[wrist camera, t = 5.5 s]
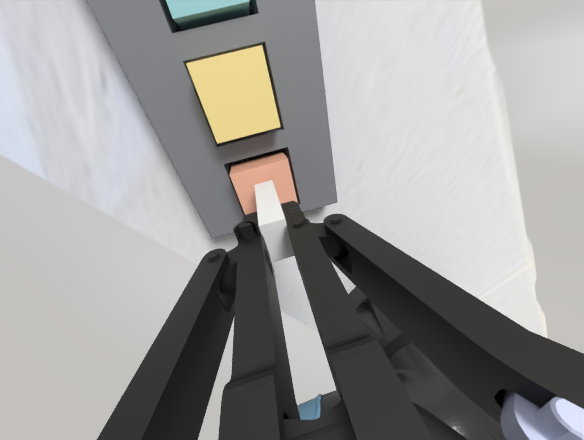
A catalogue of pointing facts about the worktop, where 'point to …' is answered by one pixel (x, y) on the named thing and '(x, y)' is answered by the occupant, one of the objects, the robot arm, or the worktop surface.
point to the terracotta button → (263, 179)
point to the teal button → (206, 11)
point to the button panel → (190, 113)
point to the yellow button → (236, 93)
